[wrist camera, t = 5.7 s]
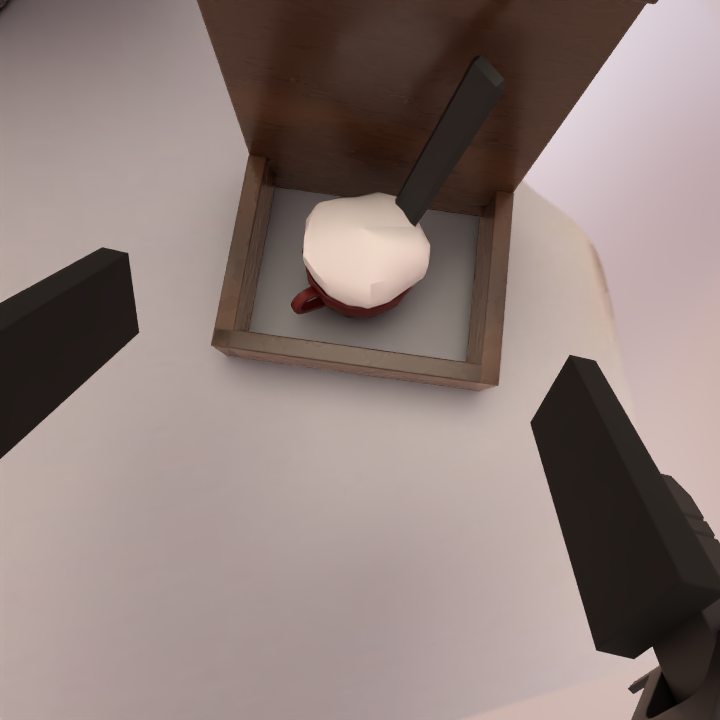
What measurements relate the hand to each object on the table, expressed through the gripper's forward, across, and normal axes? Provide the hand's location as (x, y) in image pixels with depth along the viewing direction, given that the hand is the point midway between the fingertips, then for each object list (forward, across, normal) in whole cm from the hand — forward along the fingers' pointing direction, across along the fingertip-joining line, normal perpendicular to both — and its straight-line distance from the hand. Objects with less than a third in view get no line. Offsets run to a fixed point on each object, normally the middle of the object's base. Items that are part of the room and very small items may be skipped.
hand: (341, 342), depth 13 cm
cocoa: (+13, 0, -4) cm, 14 cm away
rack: (+13, 0, -4) cm, 14 cm away
